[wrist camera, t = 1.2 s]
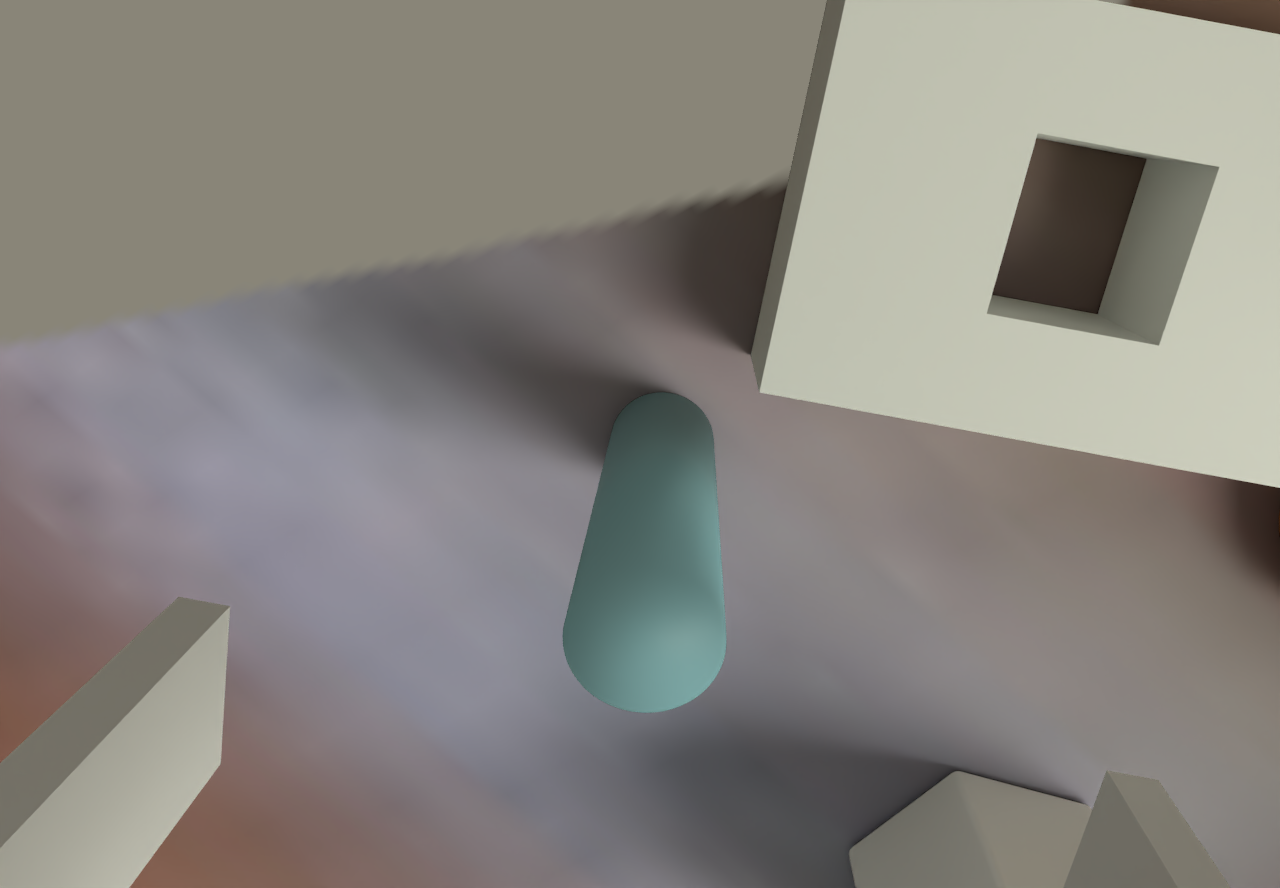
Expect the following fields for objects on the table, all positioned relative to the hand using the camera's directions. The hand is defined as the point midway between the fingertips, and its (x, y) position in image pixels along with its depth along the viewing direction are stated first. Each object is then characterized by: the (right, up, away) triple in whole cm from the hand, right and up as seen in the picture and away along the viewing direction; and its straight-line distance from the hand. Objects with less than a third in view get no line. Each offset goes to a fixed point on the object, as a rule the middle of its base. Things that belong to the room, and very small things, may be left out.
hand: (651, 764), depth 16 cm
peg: (+1, +5, +15) cm, 16 cm away
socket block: (+11, +11, +13) cm, 20 cm away
